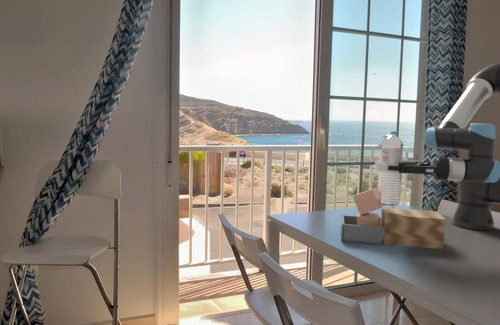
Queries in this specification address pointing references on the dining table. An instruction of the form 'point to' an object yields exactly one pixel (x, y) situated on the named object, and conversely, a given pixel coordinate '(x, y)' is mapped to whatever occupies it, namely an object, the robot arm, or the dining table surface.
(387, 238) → the zigzag patterned block
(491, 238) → the dining table surface
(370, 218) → the pink block
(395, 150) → the water bottle
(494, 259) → the dining table surface
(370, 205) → the salmon pink cube
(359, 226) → the tray
